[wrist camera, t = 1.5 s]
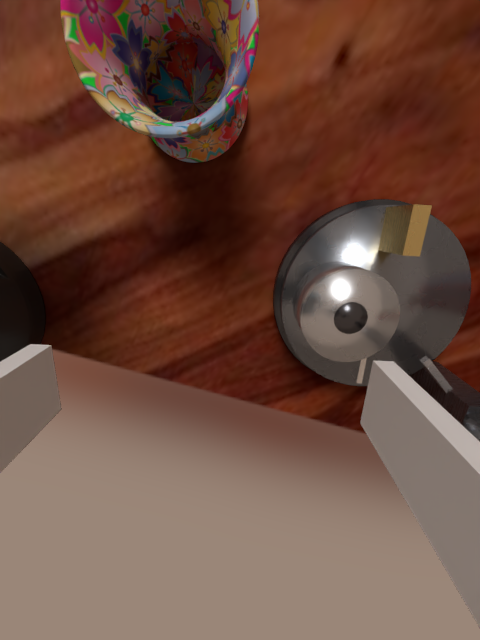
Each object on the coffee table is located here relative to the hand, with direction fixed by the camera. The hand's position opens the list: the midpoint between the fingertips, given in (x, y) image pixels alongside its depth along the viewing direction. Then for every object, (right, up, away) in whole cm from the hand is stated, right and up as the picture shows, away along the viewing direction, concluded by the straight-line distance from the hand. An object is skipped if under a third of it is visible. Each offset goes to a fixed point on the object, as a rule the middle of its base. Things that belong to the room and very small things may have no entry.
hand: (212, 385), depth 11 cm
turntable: (+13, +4, +16) cm, 21 cm away
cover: (+9, +4, +15) cm, 18 cm away
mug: (-2, +21, +13) cm, 25 cm away
